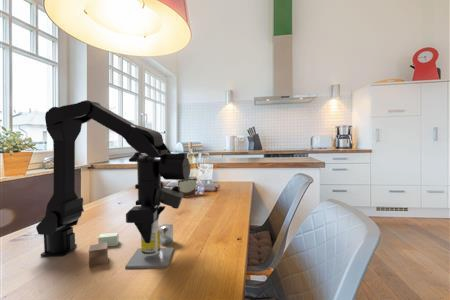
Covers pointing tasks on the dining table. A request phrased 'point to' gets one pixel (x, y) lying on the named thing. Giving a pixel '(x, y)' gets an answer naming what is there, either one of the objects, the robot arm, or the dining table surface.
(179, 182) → the food container
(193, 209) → the dining table surface
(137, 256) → the coaster
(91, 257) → the walnut block
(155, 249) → the supplement bottle
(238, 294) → the dining table surface
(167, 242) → the metal shaker
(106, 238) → the sage box
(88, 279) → the dining table surface
